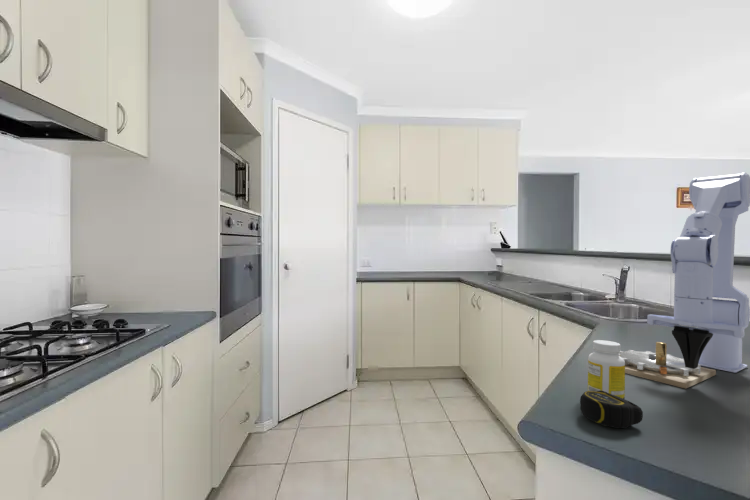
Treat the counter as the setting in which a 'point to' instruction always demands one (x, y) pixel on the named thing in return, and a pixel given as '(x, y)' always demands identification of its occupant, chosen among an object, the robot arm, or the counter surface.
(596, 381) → the supplement bottle
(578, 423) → the counter surface
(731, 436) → the counter surface
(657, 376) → the sprocket base
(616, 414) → the tape measure
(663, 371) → the sprocket
